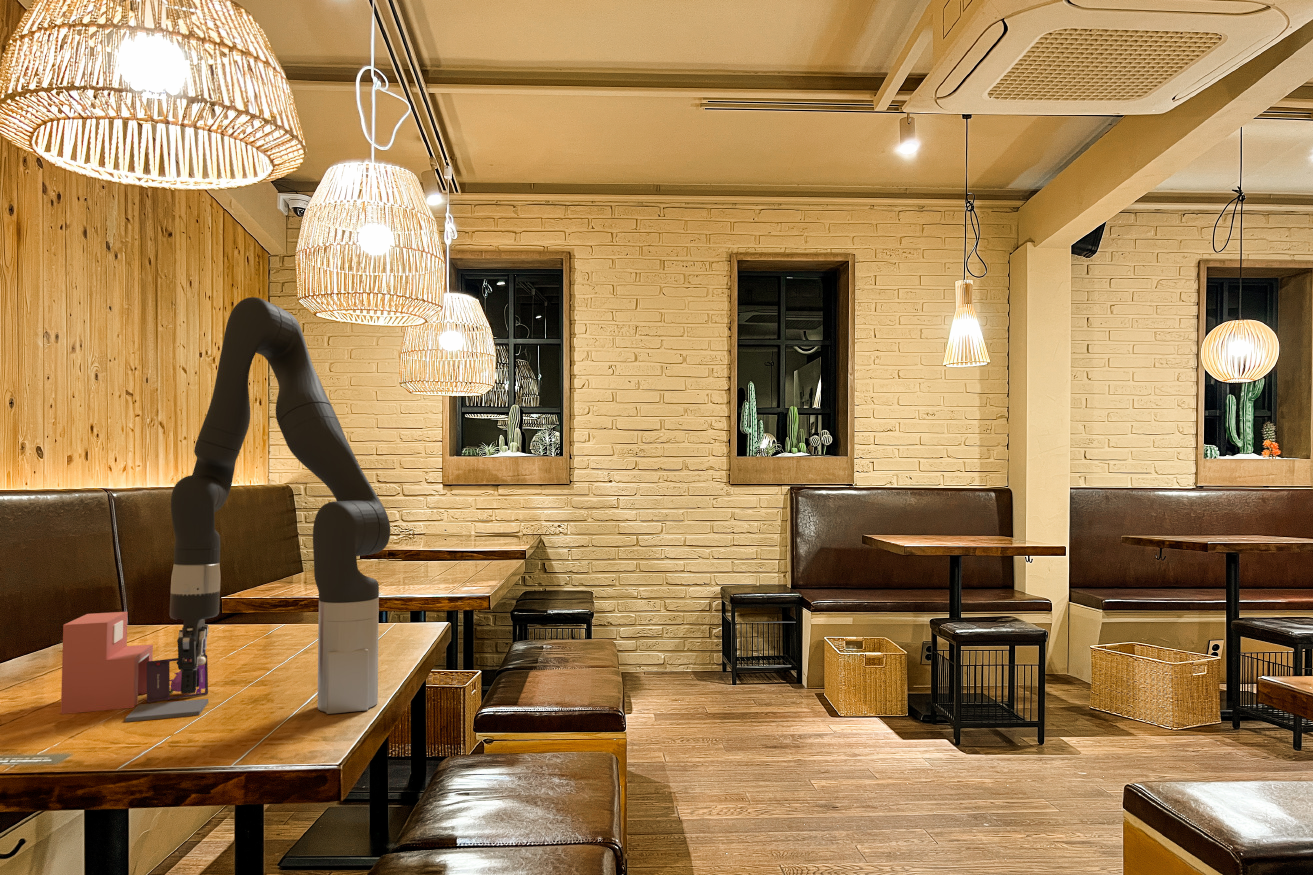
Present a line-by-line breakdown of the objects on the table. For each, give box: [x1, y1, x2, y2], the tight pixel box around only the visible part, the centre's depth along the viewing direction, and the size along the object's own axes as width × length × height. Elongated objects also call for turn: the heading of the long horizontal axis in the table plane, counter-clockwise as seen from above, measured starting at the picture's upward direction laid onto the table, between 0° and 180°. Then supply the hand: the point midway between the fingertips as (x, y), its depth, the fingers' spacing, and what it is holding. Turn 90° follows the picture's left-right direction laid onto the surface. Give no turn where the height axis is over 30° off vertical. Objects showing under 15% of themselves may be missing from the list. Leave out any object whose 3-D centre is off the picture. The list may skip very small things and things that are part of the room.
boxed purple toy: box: [146, 654, 209, 704], centre depth 141 cm, size 7×5×9 cm
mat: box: [124, 698, 209, 723], centre depth 131 cm, size 8×10×1 cm
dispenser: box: [60, 611, 154, 715], centre depth 138 cm, size 12×10×14 cm
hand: (191, 689), depth 142 cm, fingers closed on boxed purple toy, 3 cm apart
